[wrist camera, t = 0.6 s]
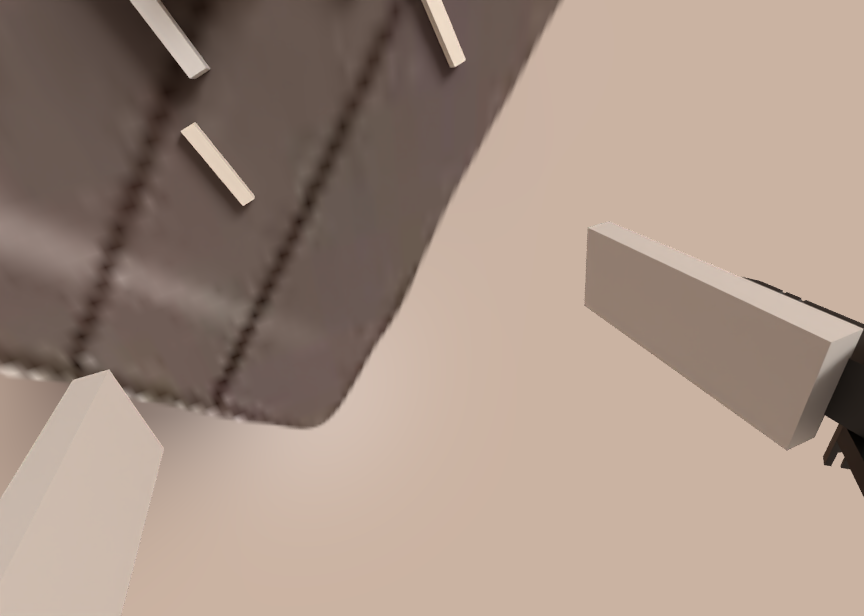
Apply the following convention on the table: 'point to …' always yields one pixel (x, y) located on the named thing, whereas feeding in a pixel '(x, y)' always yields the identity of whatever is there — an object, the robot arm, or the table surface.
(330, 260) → the table surface
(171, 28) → the guide rails
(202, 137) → the strips
